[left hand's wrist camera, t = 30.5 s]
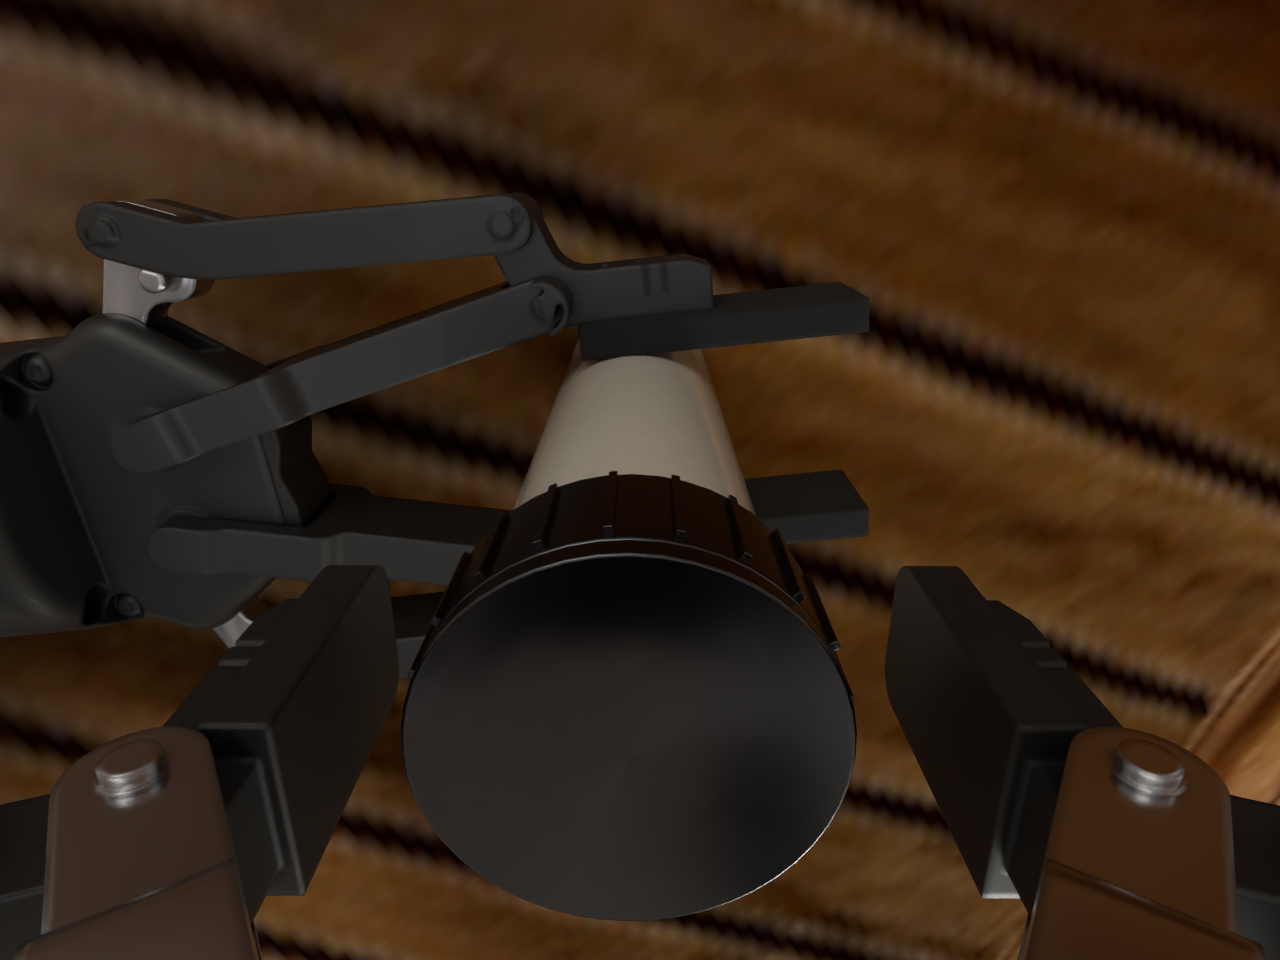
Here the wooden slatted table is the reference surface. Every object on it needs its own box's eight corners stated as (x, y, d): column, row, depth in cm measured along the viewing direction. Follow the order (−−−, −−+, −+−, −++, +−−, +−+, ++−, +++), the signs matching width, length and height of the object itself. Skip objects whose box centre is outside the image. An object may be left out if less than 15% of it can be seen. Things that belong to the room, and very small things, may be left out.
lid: (862, 496, 10) (921, 581, 8) (778, 810, 12) (807, 947, 10) (454, 440, 10) (402, 514, 8) (434, 771, 12) (387, 903, 10)
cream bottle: (728, 394, 26) (866, 756, 10) (615, 457, 27) (574, 885, 11) (663, 277, 25) (700, 479, 9) (545, 347, 25) (380, 650, 9)
